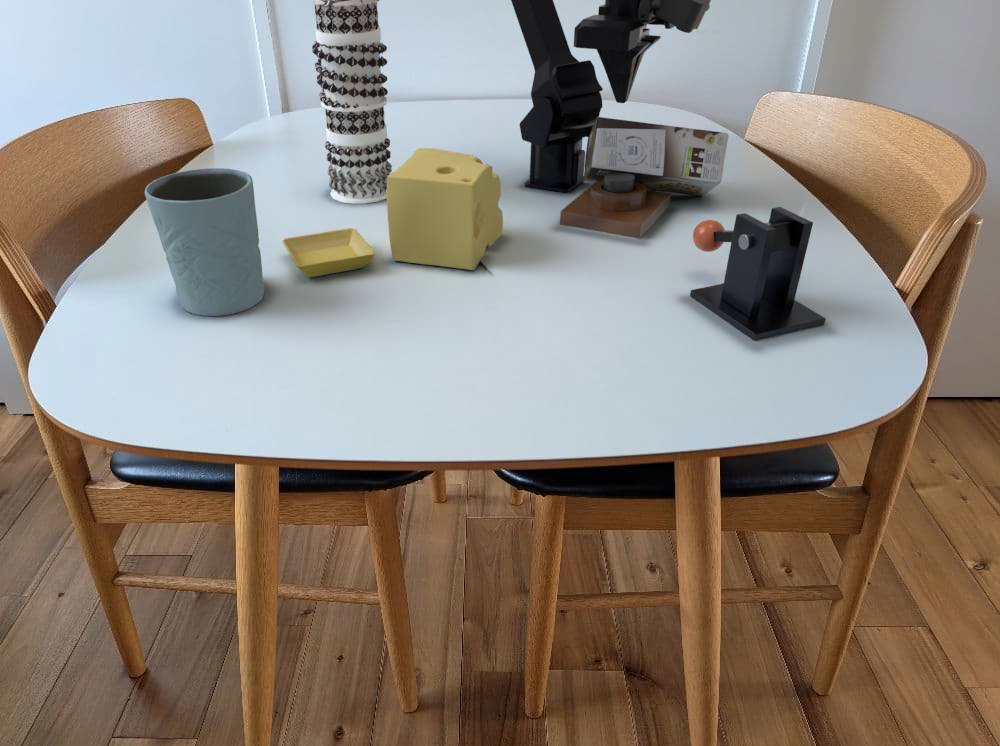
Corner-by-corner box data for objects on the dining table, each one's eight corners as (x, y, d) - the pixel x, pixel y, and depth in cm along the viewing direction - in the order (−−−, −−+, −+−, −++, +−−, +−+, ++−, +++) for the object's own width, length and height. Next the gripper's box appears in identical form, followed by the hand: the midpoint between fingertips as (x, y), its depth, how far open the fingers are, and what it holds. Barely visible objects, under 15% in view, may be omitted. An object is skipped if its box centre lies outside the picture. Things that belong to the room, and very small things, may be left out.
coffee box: (729, 130, 97) (597, 114, 97) (722, 184, 97) (589, 168, 98) (708, 148, 106) (587, 134, 106) (701, 198, 106) (580, 183, 107)
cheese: (503, 238, 95) (504, 153, 89) (474, 275, 87) (474, 184, 81) (421, 228, 98) (417, 146, 92) (386, 263, 90) (379, 174, 84)
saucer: (283, 255, 92) (280, 238, 91) (356, 243, 94) (354, 226, 93) (299, 285, 85) (297, 267, 84) (377, 271, 88) (376, 253, 87)
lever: (687, 253, 83) (685, 222, 82) (713, 248, 84) (711, 217, 83) (767, 257, 72) (766, 221, 71) (795, 252, 73) (794, 216, 72)
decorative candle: (330, 207, 105) (307, -7, 91) (325, 184, 112) (303, -17, 98) (399, 201, 106) (387, -10, 92) (390, 179, 114) (377, -19, 100)
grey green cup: (219, 328, 77) (195, 208, 71) (149, 304, 82) (119, 189, 75) (291, 289, 84) (274, 176, 78) (222, 269, 89) (201, 160, 82)
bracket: (688, 300, 81) (704, 206, 75) (754, 287, 83) (773, 195, 78) (753, 346, 73) (775, 244, 68) (823, 329, 75) (849, 230, 70)
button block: (559, 228, 97) (561, 196, 95) (594, 198, 106) (596, 168, 104) (639, 242, 93) (643, 209, 91) (668, 210, 102) (673, 179, 100)
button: (598, 193, 97) (600, 178, 96) (609, 184, 100) (610, 170, 99) (627, 197, 96) (629, 183, 95) (637, 188, 98) (638, 174, 97)
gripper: (684, -37, 77) (664, 128, 86) (730, -53, 91) (709, 92, 99) (576, -41, 82) (567, 117, 90) (635, -55, 95) (623, 84, 104)
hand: (621, 102), depth 96 cm, fingers closed
